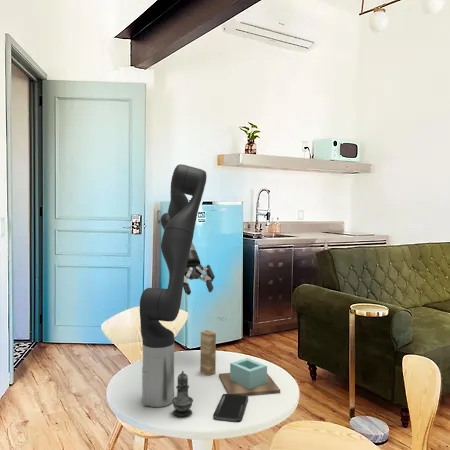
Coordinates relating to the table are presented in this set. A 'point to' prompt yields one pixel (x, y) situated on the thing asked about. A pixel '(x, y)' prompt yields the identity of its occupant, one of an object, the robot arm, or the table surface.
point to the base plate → (238, 389)
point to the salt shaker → (182, 398)
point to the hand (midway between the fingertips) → (200, 292)
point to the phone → (231, 408)
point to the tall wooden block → (208, 353)
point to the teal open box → (248, 373)
